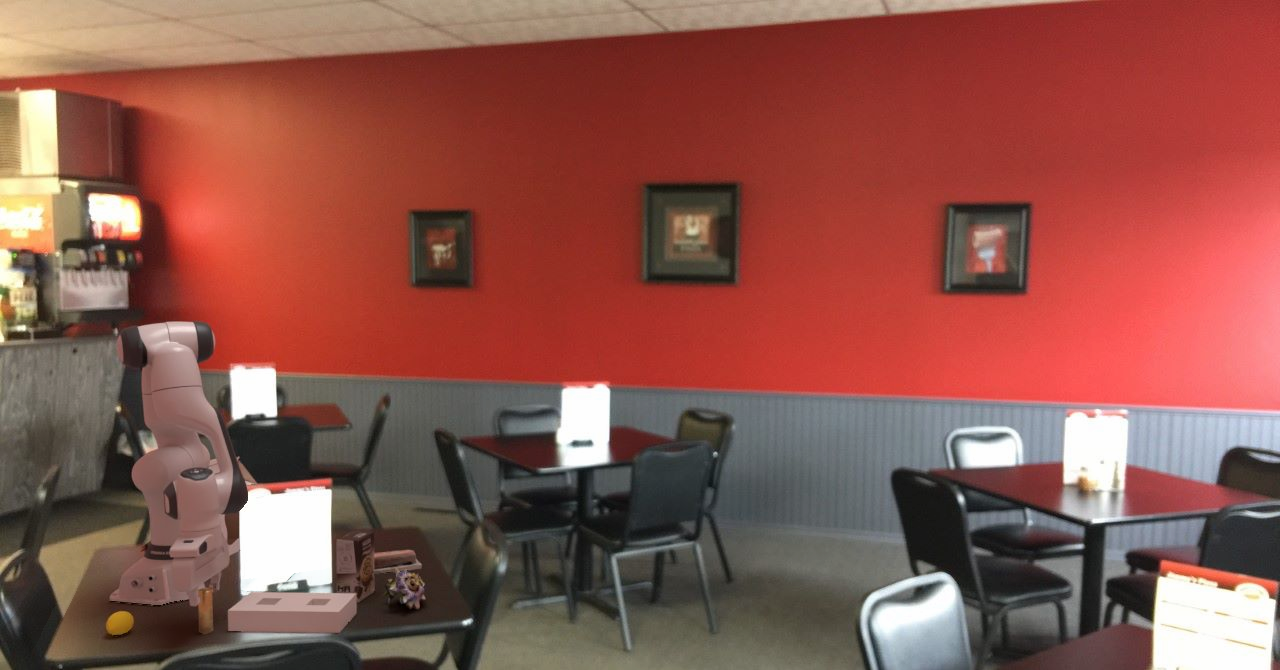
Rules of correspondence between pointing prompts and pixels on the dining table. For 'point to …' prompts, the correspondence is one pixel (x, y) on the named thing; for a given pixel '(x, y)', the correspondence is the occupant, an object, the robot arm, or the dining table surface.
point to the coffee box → (355, 564)
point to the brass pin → (205, 610)
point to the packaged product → (395, 561)
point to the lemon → (119, 623)
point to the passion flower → (406, 588)
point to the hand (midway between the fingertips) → (205, 598)
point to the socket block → (292, 612)
